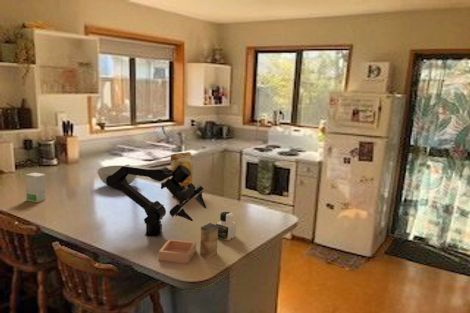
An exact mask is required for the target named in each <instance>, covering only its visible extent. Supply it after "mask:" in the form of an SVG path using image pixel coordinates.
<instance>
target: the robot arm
mask: <svg viewBox="0 0 470 313" xmlns="http://www.w3.org/2000/svg"><path fill="white" fill-rule="evenodd" d="M128 174H131V175H137V176H139V177H145V178H149V179H151V180H153V181H157V182H161V183H160V189H161V190H163V189H167V190H168V191H169V192H170V194H171V195H172V196H173V197H172V198H174V199H176V200H177V201H178V203H176V204H175V205H174V206H173V207H172V208H171V209H170V210H169V215H170V216H171V217H172V218H173V217H174V216H175V217H180V218H184V219H186V220H188V221H189V222H193V221H194V219H193V218H192V217H191V216H190V215H189V214H188V213H187V212H186V211H185V209H184V206H185V205H186V204H187V203H188V202H190V201H191V200H192V199H193V198H194V199H195V200H196V201H197V203H199V204H200V205H201V207H203V208H204V209H207V205H206V203H205V200H204V198H203V192H204V191H203V190H204V187H203V186H202V185H198V186H196V187H195V184H193V182H192V183H190V184H189V185H187V186H188V187H187V188H185V187H184V186H181V185H180V184H179V183H183V182H184V181H185V180H186V179H187V178H188V177H189V176H190V175H191V172H190V170H189V169H188V168H186V167H185V166H182V165H181V164H180V165H179V166H178V167H177V168H176V169H175V170H172V169H169V168H168V167H166V166H157V167H145V166H138V165H131V164H124V165H123V166H122V167H121V168H120V169H119V170H118V171H116V172H115V173H114V174H112V175H110V176H108V177H107V179H106V182H107V183H106V184H107V186H108V188H109V187H111V188H110V189H112V188H113V189H112V190H115V191H118V192H120V193H123V195H125V196H127V197H128V198H129V199H131V200H132V201H133V202H134V203H135V204H136V205H137V206H140V208H142V209H143V210H144V212H145V214H146V217H145V218H143V221H144V224H145V225H146V226H145V233H144V236H147V237H155V238H156V237H157V238H158V237H159V236H160V235H161V234H162V233H163V224H162V221H161V220H163V218H164V217H165V215H166V214H167V210H166V207H164V206H165V205H164V204H161V203H160V201H158V200H156V201H151V200H150V199H149V198H148V197H146V196H145V195H144V194H142V193H141V192H140V191H138V190H137V189H136V188H134V187H133V186H132V185H131V184H128V182H127V180H126V177H127V176H128ZM106 184H105V185H106Z"/></svg>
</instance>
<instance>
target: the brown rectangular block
mask: <svg viewBox="0 0 470 313" xmlns="http://www.w3.org/2000/svg"><path fill="white" fill-rule="evenodd" d="M218 239H219V238H218V225H216V223H211V222H209V223H207V224H205V225H202V226H200V246H199V248H200V249H199V250H200V251H199V255H200V256H202V257H205V258H208V259H210V258H211V257H212V256H215V255H216V254H218Z"/></svg>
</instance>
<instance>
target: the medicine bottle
mask: <svg viewBox="0 0 470 313" xmlns="http://www.w3.org/2000/svg"><path fill="white" fill-rule="evenodd" d="M215 225H218V239H220V240H224V241H231V238H232V239H233V238H235V237H236V234H237V231H236V230H237V222H235V221H234V214H233V213H232V212H231V211H222V212H221V213H220V217H219V221H218V222H216V223H215Z"/></svg>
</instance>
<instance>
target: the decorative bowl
mask: <svg viewBox="0 0 470 313" xmlns="http://www.w3.org/2000/svg"><path fill="white" fill-rule="evenodd" d="M122 166H124V165H122V164H120V165H119V164H117V165H107V166H102V167H98V168H97V169H96V171H97V175H98V178H99V179H100V180H101V182H102V183H104V185H107V184H106V183H107V182H106V179H107V177H108V176H110V175H112V174H114V173H115V172H116V171H118V170H119V169H120V168H121V167H122ZM137 176H138V175H131V174H128V176H127V177H126V180H127V182H128V184H129V185H131V184H132V183H133V182H134V181H135V180H136V178H137ZM107 186H108V185H107ZM108 188H110V189H112V190H114V189H113V188H111V187H109V186H108Z"/></svg>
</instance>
